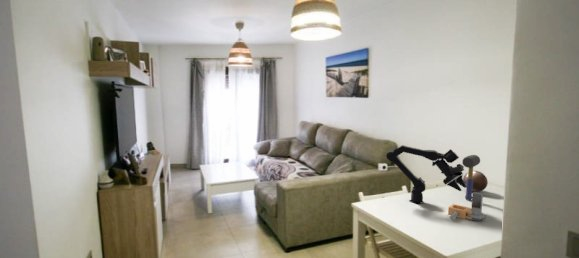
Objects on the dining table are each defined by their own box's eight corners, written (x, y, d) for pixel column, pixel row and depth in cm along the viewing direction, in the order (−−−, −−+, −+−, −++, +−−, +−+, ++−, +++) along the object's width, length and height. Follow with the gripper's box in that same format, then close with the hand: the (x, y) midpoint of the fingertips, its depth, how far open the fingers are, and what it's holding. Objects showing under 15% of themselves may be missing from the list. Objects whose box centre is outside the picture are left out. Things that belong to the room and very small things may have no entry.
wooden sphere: (457, 190, 223) (459, 170, 221) (470, 187, 230) (471, 167, 228) (478, 196, 210) (480, 174, 208) (491, 192, 217) (492, 172, 215)
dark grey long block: (471, 213, 179) (472, 193, 177) (472, 212, 181) (474, 191, 180) (479, 216, 176) (481, 195, 174) (481, 214, 178) (483, 193, 177)
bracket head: (443, 218, 172) (443, 208, 171) (452, 210, 183) (453, 201, 183) (478, 228, 160) (479, 217, 159) (486, 219, 171) (487, 208, 170)
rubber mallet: (471, 203, 195) (474, 157, 192) (458, 200, 201) (461, 155, 197) (478, 199, 203) (481, 155, 200) (466, 196, 209) (469, 153, 205)
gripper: (450, 162, 177) (470, 185, 171) (460, 157, 191) (479, 178, 184) (435, 173, 184) (454, 195, 177) (445, 168, 197) (463, 188, 191)
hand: (463, 189), depth 182 cm, fingers open, 9 cm apart
